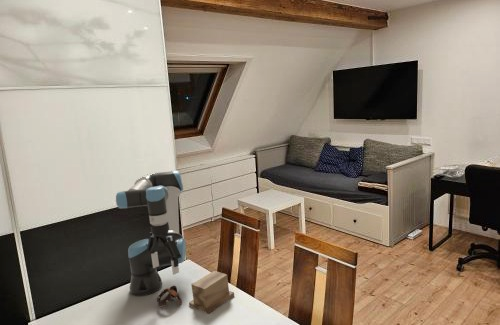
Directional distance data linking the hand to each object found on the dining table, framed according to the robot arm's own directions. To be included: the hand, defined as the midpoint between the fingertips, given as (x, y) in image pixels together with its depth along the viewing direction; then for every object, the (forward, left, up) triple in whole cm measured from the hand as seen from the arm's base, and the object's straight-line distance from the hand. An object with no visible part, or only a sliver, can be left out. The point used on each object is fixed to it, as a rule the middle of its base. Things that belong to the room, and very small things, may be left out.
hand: (165, 270), depth 151 cm
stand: (+15, +11, -16) cm, 24 cm away
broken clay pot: (0, 0, -16) cm, 16 cm away
